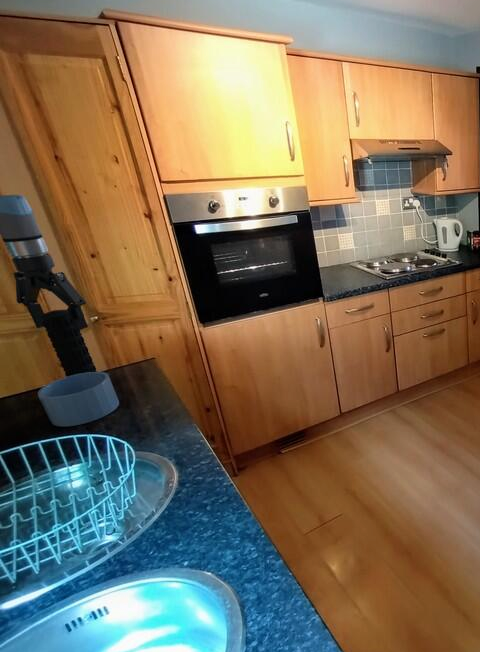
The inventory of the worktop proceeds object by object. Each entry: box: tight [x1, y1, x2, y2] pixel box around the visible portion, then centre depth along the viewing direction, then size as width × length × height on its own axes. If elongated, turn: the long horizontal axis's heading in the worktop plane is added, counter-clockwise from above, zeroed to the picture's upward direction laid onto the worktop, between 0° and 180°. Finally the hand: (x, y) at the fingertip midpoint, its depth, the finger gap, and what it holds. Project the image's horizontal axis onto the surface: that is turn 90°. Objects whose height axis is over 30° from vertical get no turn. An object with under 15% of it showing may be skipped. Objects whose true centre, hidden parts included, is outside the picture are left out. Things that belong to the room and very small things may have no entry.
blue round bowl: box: [37, 371, 120, 427], centre depth 126 cm, size 15×15×9 cm
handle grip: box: [39, 309, 98, 377], centre depth 133 cm, size 10×26×10 cm
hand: (62, 327), depth 130 cm, fingers open, 13 cm apart
